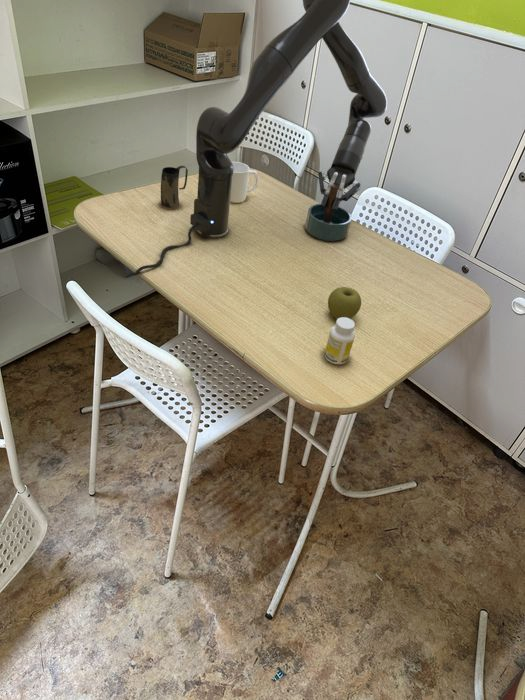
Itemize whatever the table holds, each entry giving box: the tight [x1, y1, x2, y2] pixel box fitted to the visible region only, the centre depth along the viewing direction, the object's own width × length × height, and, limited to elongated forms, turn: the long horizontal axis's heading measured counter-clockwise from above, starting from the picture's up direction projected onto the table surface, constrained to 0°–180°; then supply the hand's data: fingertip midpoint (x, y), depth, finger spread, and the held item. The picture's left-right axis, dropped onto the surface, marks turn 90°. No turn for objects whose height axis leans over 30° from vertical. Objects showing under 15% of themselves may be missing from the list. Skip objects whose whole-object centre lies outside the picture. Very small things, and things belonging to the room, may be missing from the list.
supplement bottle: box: [324, 317, 356, 365], centre depth 113 cm, size 5×5×10 cm
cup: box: [230, 161, 259, 204], centre depth 167 cm, size 8×12×10 cm
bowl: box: [304, 203, 352, 242], centre depth 158 cm, size 13×13×6 cm
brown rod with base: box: [321, 184, 339, 224], centre depth 153 cm, size 4×4×13 cm
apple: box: [327, 286, 362, 320], centre depth 126 cm, size 8×8×7 cm
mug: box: [160, 165, 189, 211], centre depth 156 cm, size 8×6×12 cm
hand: (328, 209), depth 152 cm, fingers closed on brown rod with base, 2 cm apart
